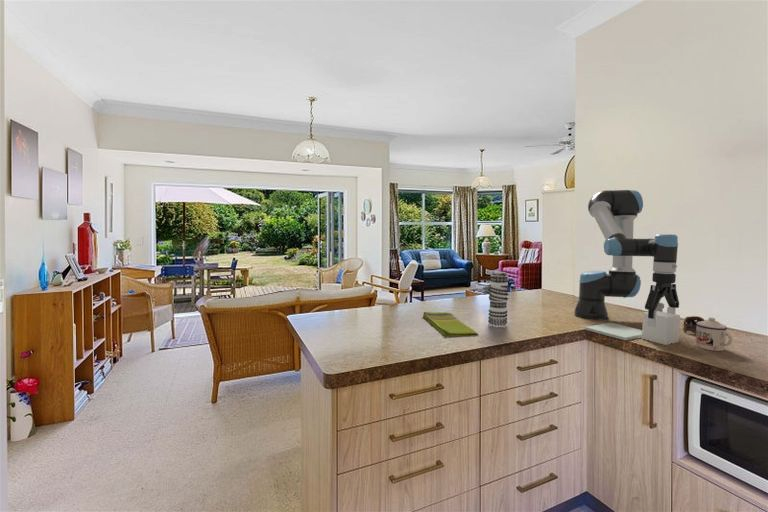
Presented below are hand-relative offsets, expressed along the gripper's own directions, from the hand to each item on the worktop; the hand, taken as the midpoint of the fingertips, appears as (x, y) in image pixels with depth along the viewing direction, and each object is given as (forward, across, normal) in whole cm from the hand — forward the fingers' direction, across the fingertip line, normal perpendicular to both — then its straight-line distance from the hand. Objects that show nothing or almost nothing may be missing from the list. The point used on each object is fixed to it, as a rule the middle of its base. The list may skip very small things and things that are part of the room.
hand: (661, 324), depth 155 cm
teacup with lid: (+7, +7, -15) cm, 18 cm away
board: (+6, -4, +15) cm, 17 cm away
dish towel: (+7, -64, +57) cm, 86 cm away
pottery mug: (+7, +28, +1) cm, 29 cm away
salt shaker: (+7, +13, +8) cm, 17 cm away
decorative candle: (+7, -43, +47) cm, 64 cm away
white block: (+7, 0, 0) cm, 7 cm away
